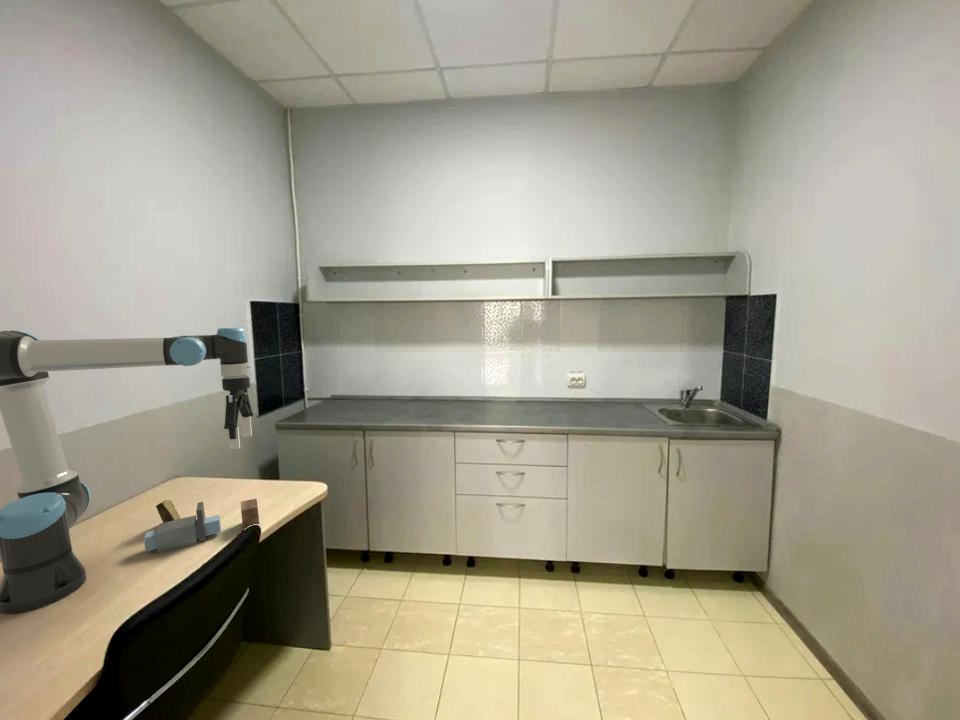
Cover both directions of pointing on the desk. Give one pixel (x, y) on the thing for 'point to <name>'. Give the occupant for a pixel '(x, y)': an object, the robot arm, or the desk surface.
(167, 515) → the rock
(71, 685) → the desk surface
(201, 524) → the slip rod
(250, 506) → the socket block
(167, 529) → the sleeve
